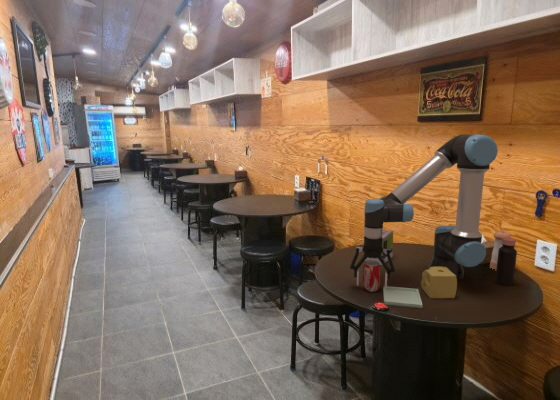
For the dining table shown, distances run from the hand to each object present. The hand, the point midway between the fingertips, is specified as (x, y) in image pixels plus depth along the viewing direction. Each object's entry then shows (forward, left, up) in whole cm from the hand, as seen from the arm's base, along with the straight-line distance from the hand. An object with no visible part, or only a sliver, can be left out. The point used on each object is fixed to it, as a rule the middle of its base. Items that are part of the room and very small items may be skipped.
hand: (371, 285), depth 152 cm
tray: (-12, +6, -2) cm, 13 cm away
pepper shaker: (-60, -36, -2) cm, 70 cm away
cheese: (-27, -2, -2) cm, 27 cm away
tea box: (-4, -37, -2) cm, 37 cm away
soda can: (0, 0, -2) cm, 2 cm away
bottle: (-57, -19, -2) cm, 60 cm away
